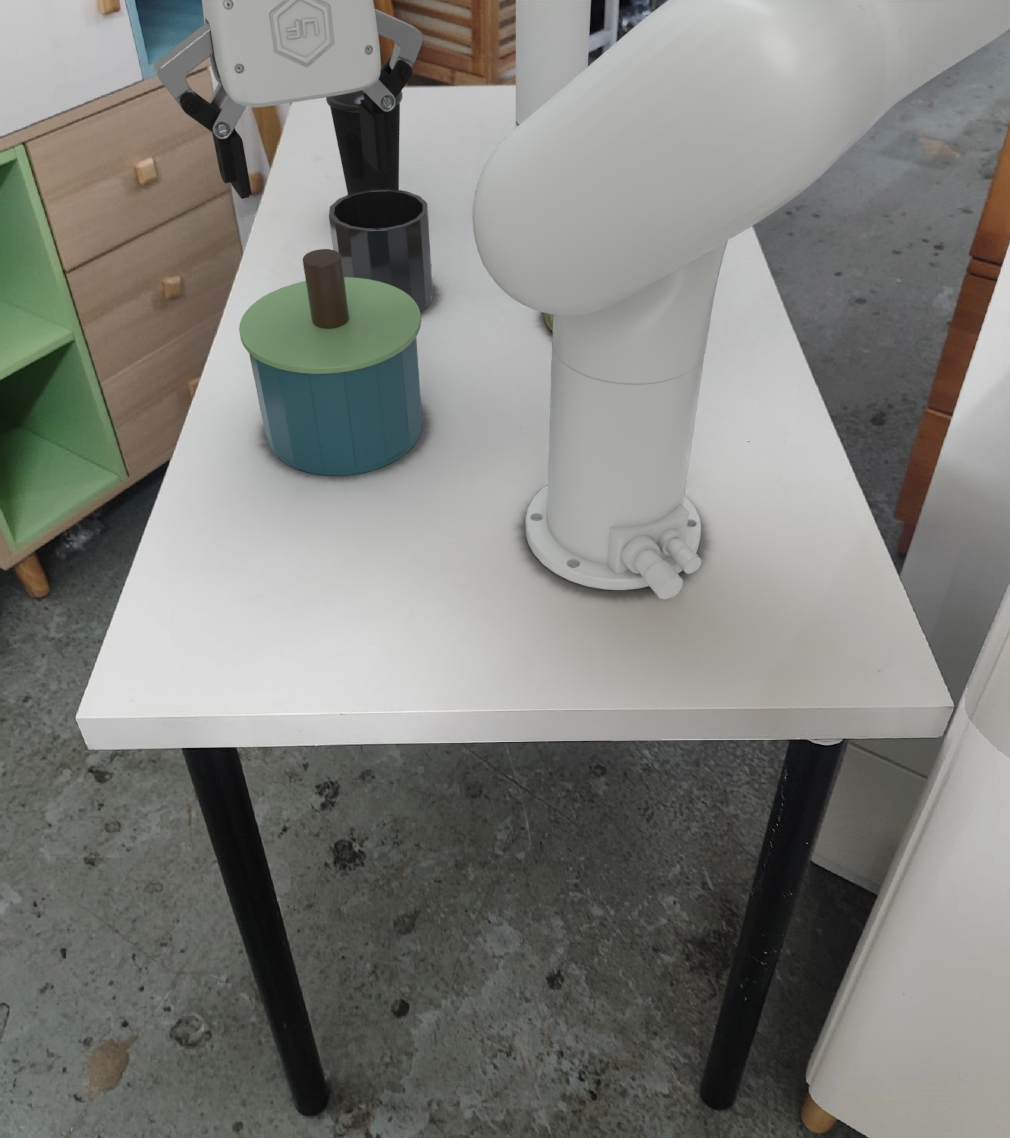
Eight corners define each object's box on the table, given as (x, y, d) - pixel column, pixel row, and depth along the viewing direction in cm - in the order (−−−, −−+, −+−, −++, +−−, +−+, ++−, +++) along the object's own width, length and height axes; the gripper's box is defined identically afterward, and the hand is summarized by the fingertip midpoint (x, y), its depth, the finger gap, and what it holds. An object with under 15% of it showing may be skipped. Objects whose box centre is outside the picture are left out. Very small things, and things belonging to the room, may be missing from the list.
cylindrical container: (575, 238, 109) (586, -25, 92) (509, 233, 110) (509, -29, 93) (584, 210, 114) (597, -45, 97) (522, 205, 116) (523, -48, 98)
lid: (449, 353, 76) (446, 277, 72) (271, 399, 72) (256, 321, 67) (383, 275, 85) (376, 203, 81) (221, 312, 80) (205, 238, 76)
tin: (446, 449, 82) (440, 344, 76) (294, 493, 78) (275, 387, 72) (389, 372, 90) (379, 272, 84) (249, 409, 86) (227, 307, 80)
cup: (447, 308, 99) (443, 218, 93) (359, 329, 96) (348, 238, 90) (412, 269, 105) (405, 181, 98) (328, 288, 102) (316, 199, 96)
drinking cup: (420, 232, 111) (407, 30, 97) (352, 244, 109) (328, 40, 95) (399, 204, 116) (384, 9, 102) (333, 215, 114) (309, 18, 100)
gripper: (130, -91, 53) (197, 223, 65) (435, -120, 59) (447, 175, 71) (104, -117, 58) (171, 180, 70) (388, -141, 64) (406, 138, 76)
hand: (309, 177), depth 70 cm, fingers open, 9 cm apart
